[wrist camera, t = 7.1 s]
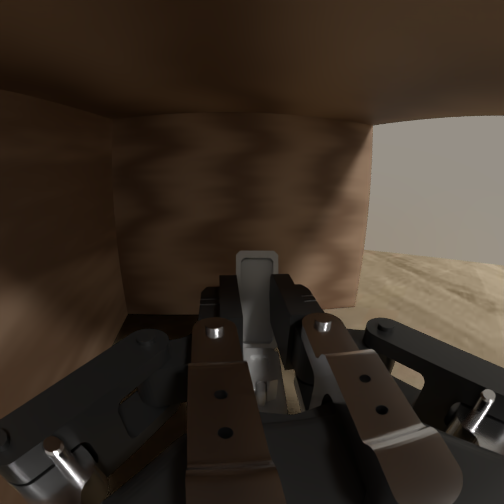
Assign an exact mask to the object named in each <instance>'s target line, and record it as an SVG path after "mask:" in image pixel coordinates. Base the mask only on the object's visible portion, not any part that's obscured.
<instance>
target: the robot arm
mask: <svg viewBox="0 0 504 504" xmlns="http://www.w3.org/2000/svg"><path fill="white" fill-rule="evenodd" d="M269 301H270V324H271V327H272V330H273V333H274V336H275V340H276V343H277V346H278V349H279V352H280V356H281V359H282V362H283V365H284V368H285V370H290V369H294V370H295V378H294V386H295V390H296V393H297V397H298V401H299V405H300V409H301V413H298V414H294V415H289V414H276V413H266V412H259V409H258V405H257V401H256V396H255V392H254V388H253V384H252V379H251V375H250V371H249V366H248V363H247V361H246V360H245V361H243V313H242V307H241V301H240V294H239V288H238V282H237V275H219V286H217V287H206V288H205V289H204V290H203V291H202V292H201V298H200V307H199V317H198V322H197V323H195V324H194V326H193V328H192V334H190V335H188V336H186V337H183V338H179V339H174V340H169V337H168V336H167V334H166V333H164V332H163V331H160V330H157V329H142V330H138V331H135V332H133V333H131V334H130V335H128V336H127V337H125V338H124V339H122V340H121V341H119V342H118V343H116V344H115V345H113V346H112V347H110V348H108V349H107V350H105V351H104V352H102V353H101V354H99V355H98V356H96V357H95V358H93V359H92V360H90V361H89V362H87V363H86V364H84V365H83V366H81V367H80V368H78V369H76V370H75V371H73V372H72V373H70V374H69V375H67V376H66V377H64V378H63V379H61V380H60V381H58V382H57V383H55V384H54V385H52V386H51V387H49V388H48V389H46V390H44V391H43V392H41V393H40V394H38V395H37V396H35V397H34V398H32V399H31V400H29V401H28V402H26V403H25V404H23V405H22V406H20V407H18V408H17V409H15V410H14V411H12V412H11V413H9V414H8V415H6V416H5V417H3V418H2V419H0V474H1V476H2V477H3V479H4V480H5V481H6V482H7V483H8V484H10V485H11V486H12V487H13V488H14V489H15V490H16V491H17V492H18V493H20V494H21V496H22V497H23V498H24V500H25V501H26V502H27V503H28V504H504V368H502V367H500V366H497V365H495V364H493V363H490V362H488V361H486V360H483V359H481V358H479V357H476V356H474V355H472V354H470V353H467V352H465V351H463V350H460V349H458V348H456V347H453V346H451V345H449V344H447V343H444V342H442V341H440V340H437V339H435V338H433V337H431V336H428V335H426V334H424V333H421V332H419V331H417V330H415V329H412V328H410V327H408V326H405V325H403V324H401V323H399V322H396V321H394V320H391V319H387V318H374V319H371V320H369V321H368V322H367V325H366V329H365V330H353V329H346V327H345V326H344V324H343V322H342V321H341V320H340V319H339V318H338V317H336V316H334V315H331V314H328V313H324V311H323V310H322V308H321V307H320V305H319V304H318V302H317V301H316V299H315V297H314V296H313V294H312V293H311V291H310V290H309V289H308V288H306V287H305V286H303V285H302V284H294V282H293V280H292V278H291V277H290V275H289V274H271V276H270V291H269ZM395 361H397V362H399V363H401V364H403V365H405V366H407V367H409V368H411V369H413V370H415V371H417V372H419V373H420V374H421V375H422V376H423V377H424V381H425V383H424V386H423V388H422V390H419V389H417V388H415V387H413V386H411V385H409V384H407V383H405V382H403V381H401V380H399V379H397V378H395V377H393V376H392V375H391V372H392V369H393V366H394V363H395ZM136 387H137V389H138V390H137V391H136V392H135V393H134V394H133V395H131V396H130V397H129V398H128V399H127V400H125V401H124V402H123V403H122V404H120V402H121V400H122V399H123V398H124V397H125V396H126V395H128V394H129V393H130V392H131V391H133V390H134V389H135V388H136ZM183 402H187V433H186V434H184V435H183V436H181V437H180V438H178V439H177V440H176V441H174V442H173V443H172V444H171V445H170V446H169V447H168V448H167V449H165V450H164V451H163V452H162V453H161V454H160V455H159V456H158V457H156V458H155V459H154V460H153V461H152V462H151V463H149V464H148V465H147V466H146V467H145V468H144V469H142V470H141V471H140V472H139V473H138V474H136V475H135V476H134V477H133V478H132V479H130V480H129V481H128V482H127V483H125V484H124V485H123V486H122V487H120V488H119V489H118V490H117V491H115V492H114V493H113V494H112V495H110V496H109V497H108V498H106V499H105V496H106V495H107V493H108V489H109V483H108V479H107V477H109V476H110V475H111V474H112V473H113V472H114V471H115V470H116V469H117V468H118V467H119V466H121V465H122V464H123V463H124V462H125V461H126V460H127V459H128V458H129V457H130V456H131V455H132V454H133V453H134V452H135V451H136V450H137V449H139V448H140V447H141V446H142V445H143V444H144V443H145V442H146V441H147V440H148V439H149V438H150V437H151V436H152V435H153V434H154V433H155V432H156V431H157V430H158V429H159V428H160V427H161V426H162V425H163V424H164V423H165V422H166V421H167V420H168V419H169V418H170V417H171V416H172V415H173V414H174V413H175V412H176V411H177V410H178V408H179V406H180V403H183ZM119 404H120V405H119Z"/></svg>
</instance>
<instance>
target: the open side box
mask: <svg viewBox="0 0 504 504" xmlns="http://www.w3.org/2000/svg"><path fill="white" fill-rule="evenodd" d="M485 115H486V116H491V115H494V116H495V115H503V116H504V0H0V419H2V418H3V417H5V416H6V415H8V414H9V413H11V412H12V411H14V410H15V409H17V408H18V407H20V406H22V405H23V404H25V403H26V402H28V401H29V400H31V399H32V398H34V397H35V396H37V395H38V394H40V393H41V392H43V391H44V390H46V389H48V388H49V387H51V386H52V385H54V384H55V383H57V382H58V381H60V380H61V379H63V378H64V377H66V376H67V375H69V374H70V373H72V372H73V371H75V370H76V369H78V368H80V367H81V366H83V365H84V364H86V363H87V362H89V361H90V360H92V359H93V358H95V357H96V356H98V355H99V354H101V353H102V352H104V351H105V350H107V349H108V348H110V347H112V345H113V343H114V341H115V339H116V337H117V335H118V332H119V330H120V328H121V326H122V324H123V322H124V320H125V318H126V316H127V315H128V314H167V315H192V314H199V307H200V298H201V292H202V291H203V290H204V289H205V288H206V287H217V286H219V275H236V254H237V253H238V252H239V251H275V252H276V253H277V254H278V274H289V275H290V277H291V278H292V280H293V282H294V284H302V285H303V286H305V287H306V288H308V289H309V290H310V291H311V293H312V294H313V296H314V297H315V299H316V301H317V302H318V304H319V305H320V307H321V308H322V309H330V308H342V307H353V306H355V302H356V296H357V291H358V285H359V279H360V272H361V266H362V259H363V251H364V244H365V236H366V227H367V217H368V207H369V195H370V182H371V164H372V137H373V133H372V132H373V125H379V124H386V123H393V122H402V121H411V120H420V119H431V118H444V117H461V116H485ZM0 504H28V503H27V502H26V501H25V500H24V498H23V497H22V496H21V494H20V493H18V492H17V491H16V490H15V489H14V488H13V487H12V486H11V485H10V484H8V483H7V482H6V481H5V480H4V479H3V477H2V476H1V474H0Z"/></svg>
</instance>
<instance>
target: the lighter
mask: <svg viewBox="0 0 504 504" xmlns="http://www.w3.org/2000/svg"><path fill="white" fill-rule="evenodd" d="M271 274H278V254H277V253H276V252H275V251H239V252H238V253H237V254H236V275H237V282H238V288H239V294H240V301H241V307H242V313H243V361H245V360H246V361H247V363H248V366H249V371H250V375H251V379H252V384H253V388H254V392H255V396H256V401H257V405H258V409H259V412H266V413H276V414H288V410H287V404H286V397H285V391H284V385H283V379H282V372H281V366H280V360H279V354H278V352H276V351H274V350H275V349H276V348H277V347H278V346H277V343H276V340H275V336H274V333H273V330H272V327H271V324H270V301H269V291H270V276H271Z"/></svg>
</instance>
